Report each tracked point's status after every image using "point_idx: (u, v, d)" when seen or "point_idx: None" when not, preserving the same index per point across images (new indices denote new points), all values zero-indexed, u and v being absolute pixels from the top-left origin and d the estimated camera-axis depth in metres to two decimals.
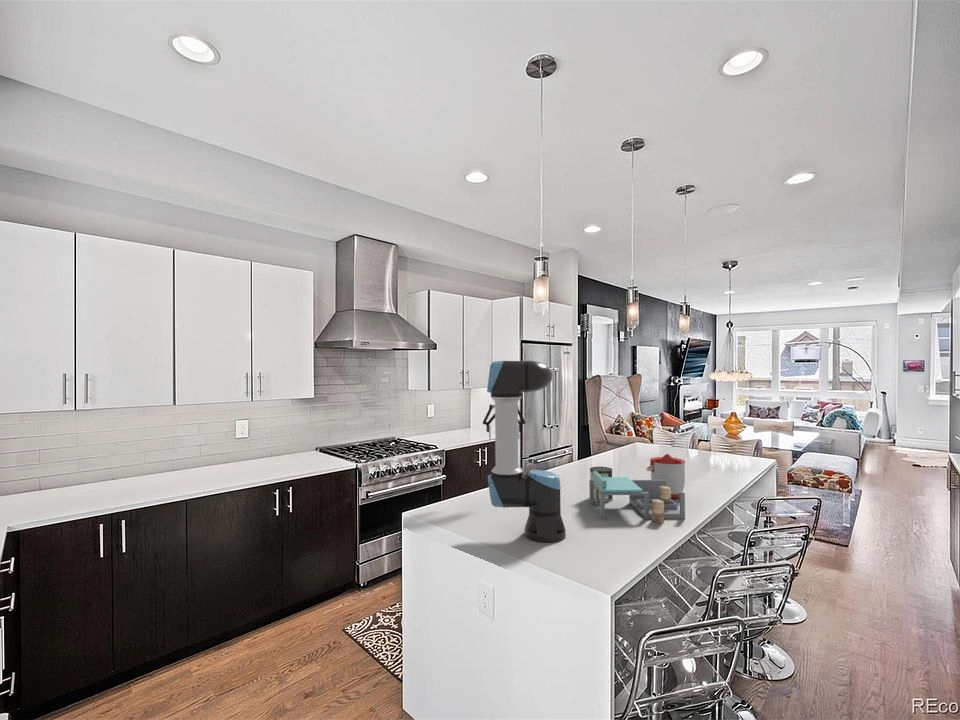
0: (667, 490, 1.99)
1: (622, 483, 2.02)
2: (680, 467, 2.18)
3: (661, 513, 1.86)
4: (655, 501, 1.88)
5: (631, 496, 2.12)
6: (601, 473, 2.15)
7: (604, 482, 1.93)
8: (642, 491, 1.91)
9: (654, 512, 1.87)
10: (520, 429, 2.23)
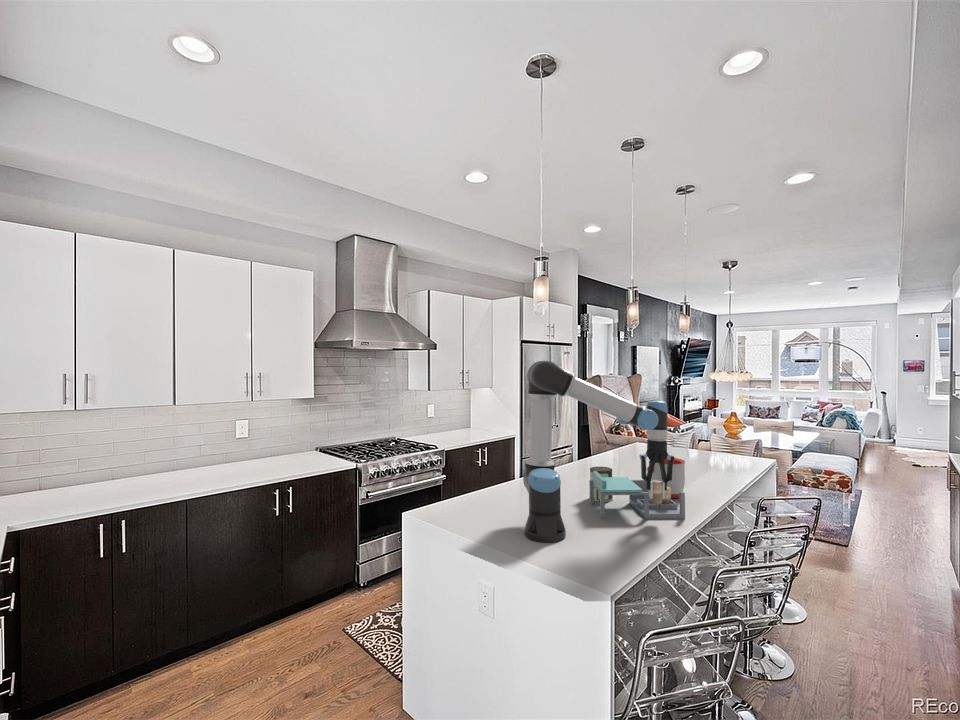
0: (667, 490, 1.99)
1: (622, 483, 2.02)
2: (680, 467, 2.18)
3: (660, 493, 1.86)
4: (654, 481, 1.88)
5: (631, 496, 2.12)
6: (601, 473, 2.15)
7: (604, 482, 1.93)
8: (642, 491, 1.91)
9: (653, 492, 1.87)
10: (665, 487, 1.87)
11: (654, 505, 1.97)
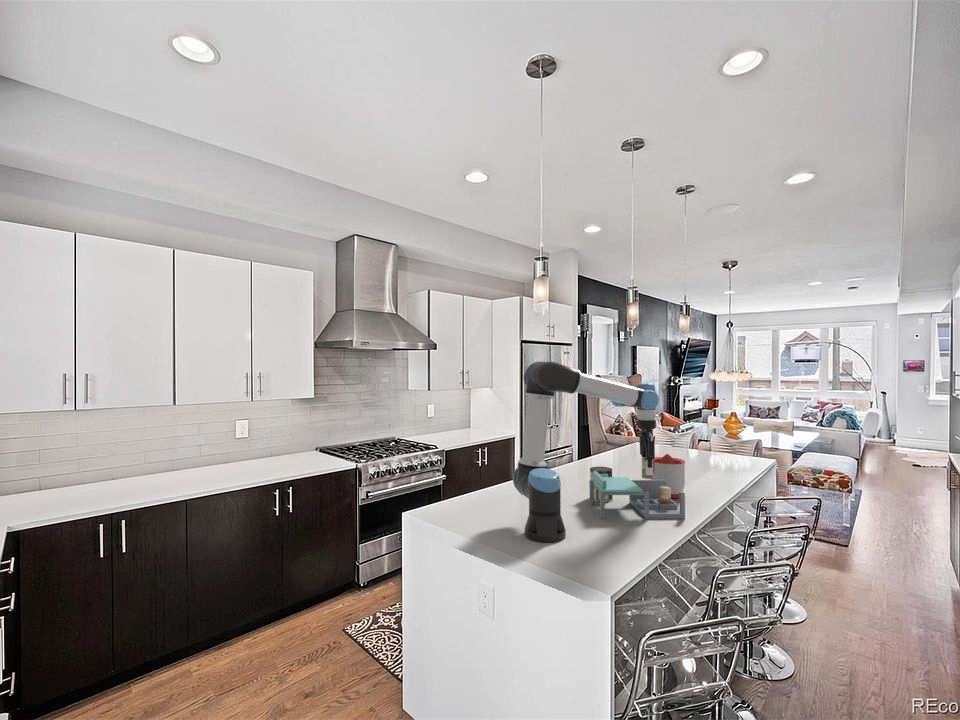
0: (667, 490, 1.99)
1: (622, 483, 2.02)
2: (680, 467, 2.18)
3: (642, 469, 2.00)
4: None
5: (631, 496, 2.12)
6: (601, 473, 2.15)
7: (604, 482, 1.93)
8: (642, 491, 1.91)
9: None
10: (648, 464, 1.98)
11: (654, 505, 1.97)
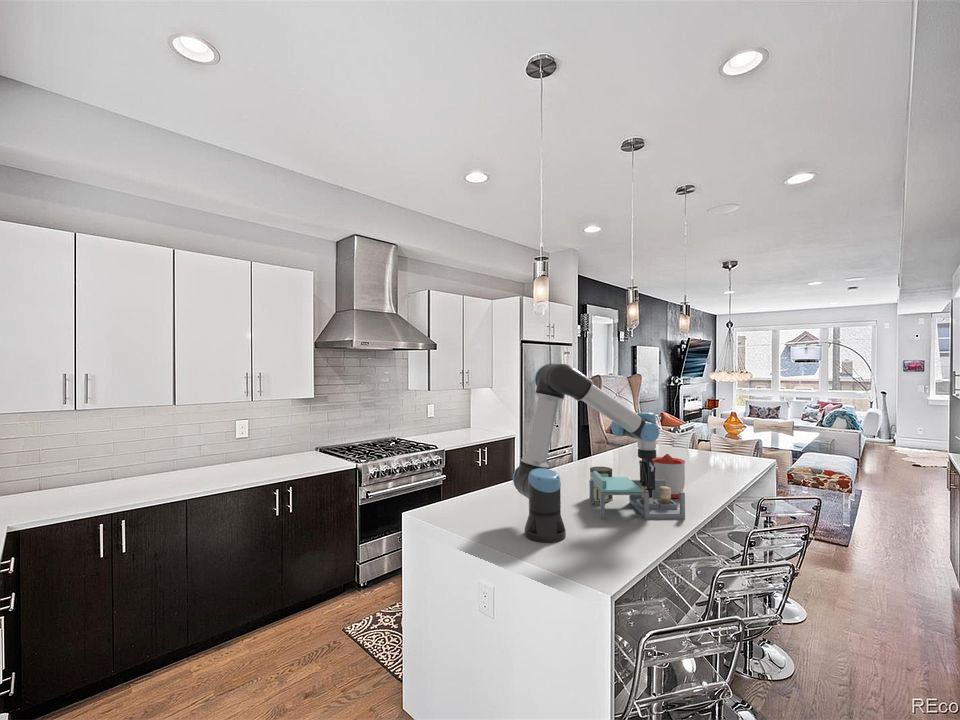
0: (667, 490, 1.99)
1: (622, 483, 2.02)
2: (680, 467, 2.18)
3: (643, 498, 2.00)
4: (646, 487, 2.02)
5: (631, 496, 2.12)
6: (601, 473, 2.15)
7: (604, 482, 1.93)
8: (642, 491, 1.91)
9: None
10: None
11: (654, 505, 1.97)
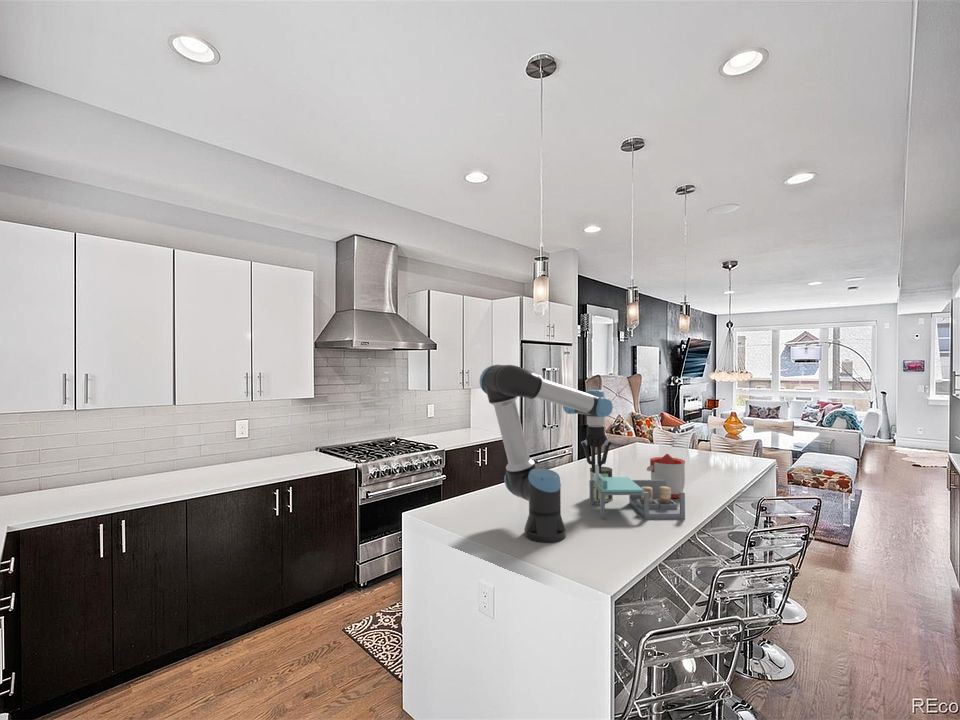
0: (667, 490, 1.99)
1: (623, 483, 2.02)
2: (680, 467, 2.18)
3: (642, 498, 2.00)
4: (645, 487, 2.02)
5: (631, 496, 2.12)
6: (601, 473, 2.15)
7: (605, 482, 1.93)
8: (643, 491, 1.91)
9: None
10: (599, 470, 2.02)
11: (654, 505, 1.97)
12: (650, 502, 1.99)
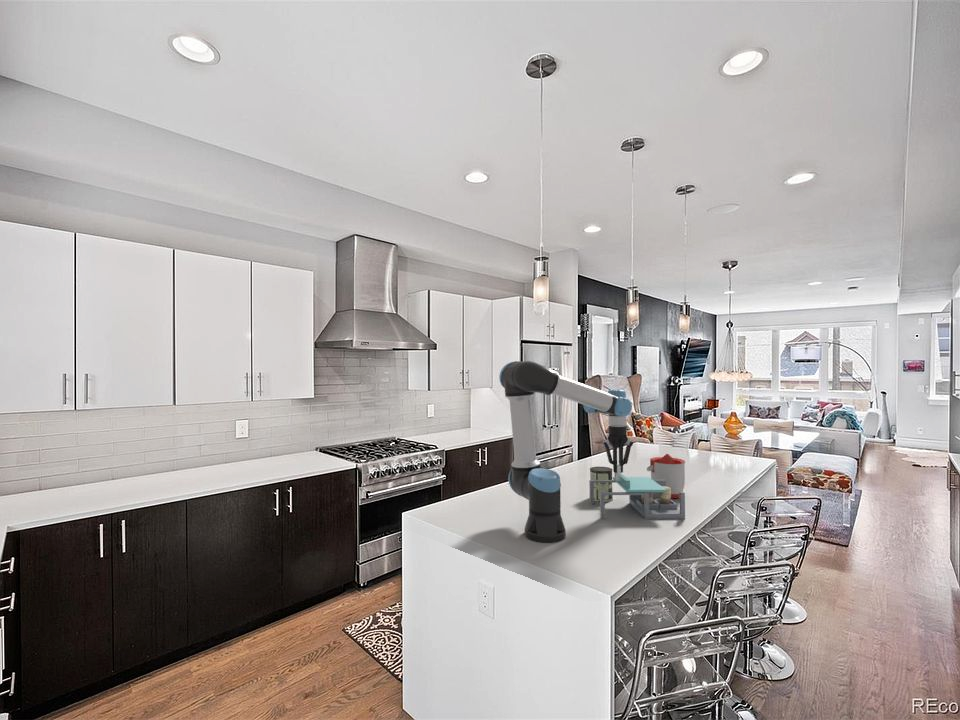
0: (667, 490, 1.99)
1: (645, 483, 2.01)
2: (680, 467, 2.18)
3: (642, 498, 2.00)
4: None
5: (631, 496, 2.12)
6: (601, 473, 2.15)
7: (628, 482, 1.93)
8: (666, 491, 1.91)
9: None
10: (621, 470, 2.02)
11: (654, 505, 1.97)
12: (650, 502, 1.99)
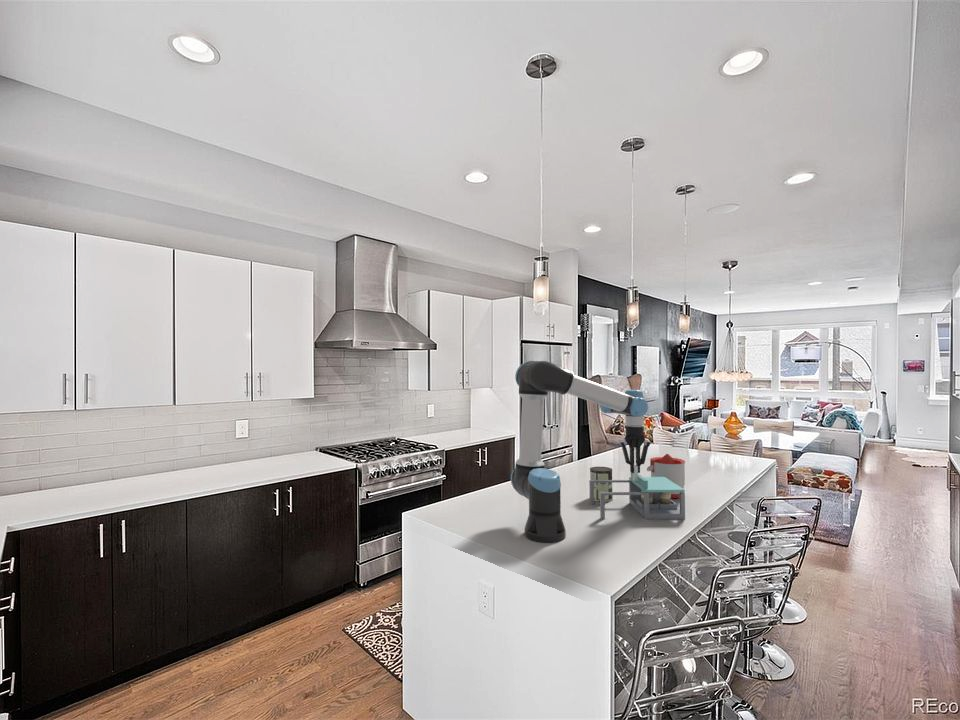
0: None
1: (662, 483, 2.01)
2: (680, 467, 2.18)
3: (642, 498, 2.00)
4: None
5: (631, 496, 2.12)
6: (601, 473, 2.15)
7: (645, 482, 1.93)
8: (684, 491, 1.91)
9: None
10: (638, 470, 2.02)
11: (654, 505, 1.97)
12: (650, 502, 1.99)
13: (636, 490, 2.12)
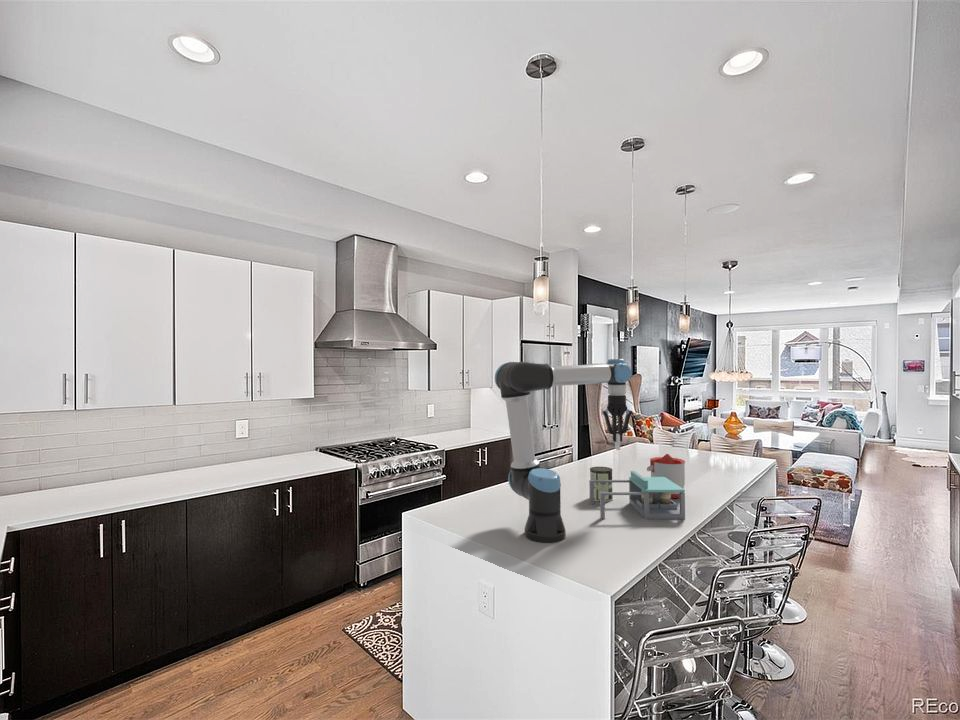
0: None
1: (662, 483, 2.01)
2: (680, 467, 2.18)
3: (642, 498, 2.00)
4: None
5: (631, 496, 2.12)
6: (601, 473, 2.15)
7: (645, 482, 1.93)
8: (684, 491, 1.91)
9: None
10: (621, 439, 2.02)
11: (654, 505, 1.97)
12: (650, 502, 1.99)
13: (636, 490, 2.12)
